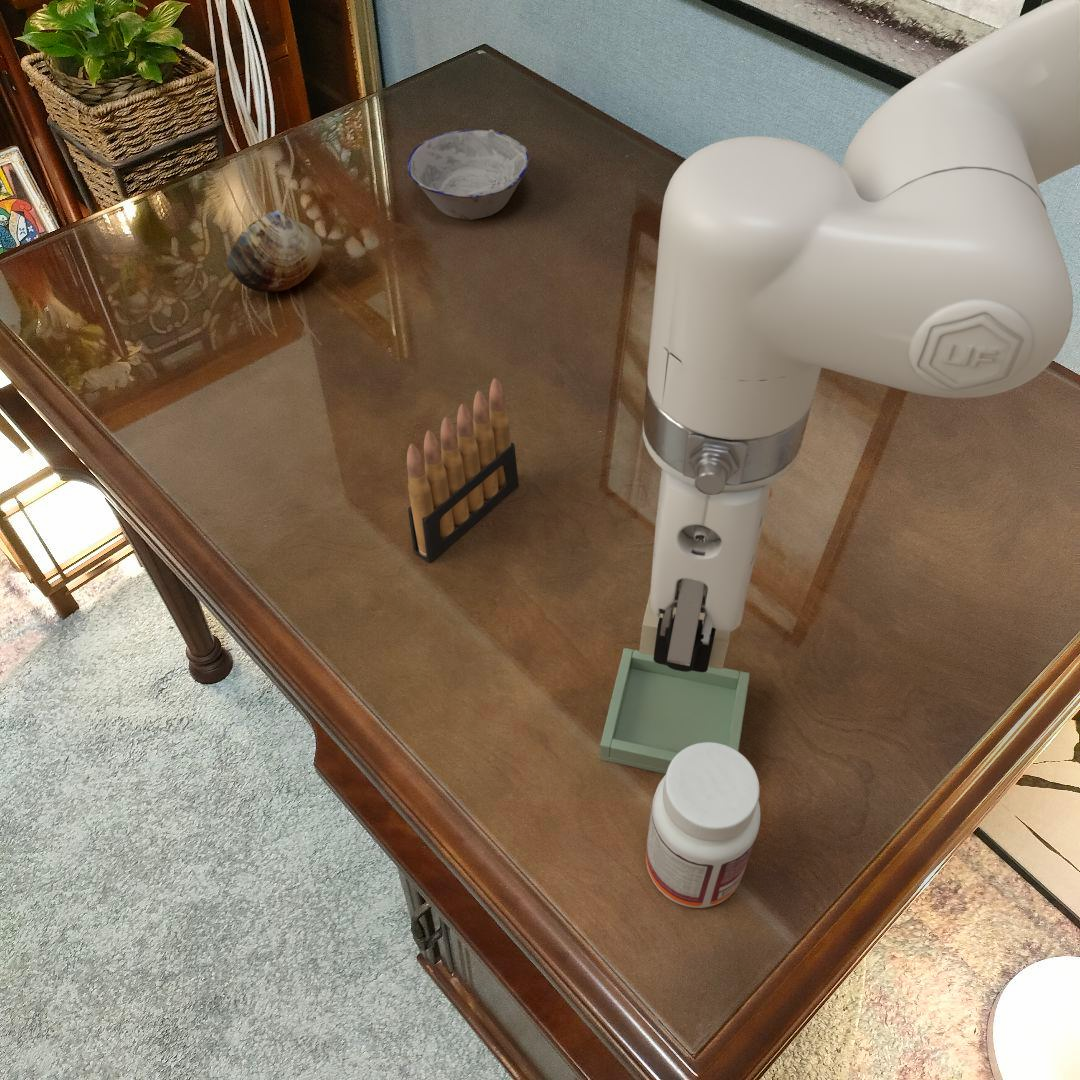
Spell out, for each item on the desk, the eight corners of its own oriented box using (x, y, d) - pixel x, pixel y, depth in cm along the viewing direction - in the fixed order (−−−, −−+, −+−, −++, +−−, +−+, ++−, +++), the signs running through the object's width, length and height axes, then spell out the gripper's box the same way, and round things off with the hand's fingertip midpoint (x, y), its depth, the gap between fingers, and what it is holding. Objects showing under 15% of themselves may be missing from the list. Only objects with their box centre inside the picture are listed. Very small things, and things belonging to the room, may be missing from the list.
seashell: (312, 255, 106) (296, 185, 99) (338, 282, 103) (324, 212, 96) (228, 289, 102) (206, 220, 96) (252, 318, 99) (231, 248, 93)
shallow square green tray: (746, 688, 72) (750, 672, 71) (730, 789, 67) (735, 774, 66) (622, 662, 74) (623, 647, 72) (599, 759, 69) (599, 745, 67)
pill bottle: (733, 813, 66) (758, 728, 58) (750, 908, 62) (780, 833, 54) (638, 819, 66) (649, 735, 57) (650, 914, 62) (664, 840, 54)
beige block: (731, 616, 63) (738, 587, 60) (722, 670, 60) (728, 642, 58) (651, 600, 64) (654, 571, 61) (639, 652, 61) (642, 624, 59)
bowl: (421, 165, 116) (416, 125, 112) (534, 168, 115) (533, 127, 111) (403, 232, 108) (398, 191, 104) (524, 235, 107) (523, 194, 103)
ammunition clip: (429, 564, 80) (411, 457, 70) (413, 552, 81) (392, 445, 71) (519, 485, 85) (513, 376, 76) (502, 474, 86) (494, 366, 76)
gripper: (787, 565, 42) (729, 768, 56) (821, 312, 52) (765, 538, 66) (608, 531, 43) (596, 738, 57) (675, 291, 53) (651, 517, 67)
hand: (687, 629), depth 62 cm, fingers closed on beige block, 4 cm apart
